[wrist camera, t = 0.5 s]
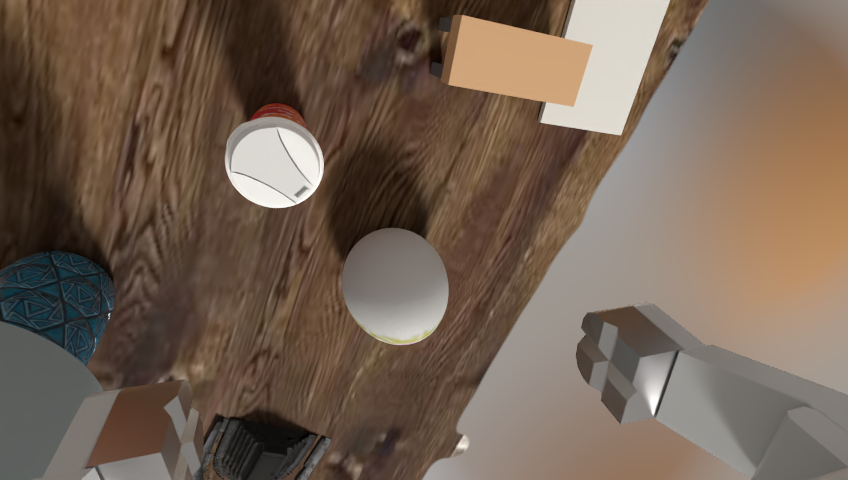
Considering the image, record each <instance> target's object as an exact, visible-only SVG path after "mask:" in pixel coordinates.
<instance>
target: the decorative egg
mask: <svg viewBox="0 0 848 480" xmlns="http://www.w3.org/2000/svg"><path fill="white" fill-rule="evenodd" d="M342 290H343V296H344V299H345V302H346V305H347V307H348V309H349V311H350V313H351V315H352V316H353V318H354V319H355V321H356V322H357V323H358V324H359V325H360V326H361V327H362V328H363V329H364V330H365V331H366V332H367V333H368V334H370V335H371V336H373V337H375V338H376V339H378V340H380V341H383V342H386V343H389V344H395V345H408V344H413V343H416V342H419V341H421V340H422V339H424V338H426V337H427V336H428V335H430V334H431V333H432V332H433V331H434V330H435V328H436V327H437V326H438V324H439V323H440V321H441V319H442V317H443V315H444V313H445V310H446V306H447V301H448V279H447V274H446V270H445V267H444V265H443V262H442V260H441V258H440V256H439V255H438V253H437V252H436V250H435V249H434V248H433V246H432V245H431V244H430V243H429V242H427V241H426V240H425V239H424V238H422V237H421V236H419V235H417V234H416V233H414V232H411V231H408V230H405V229H400V228H385V229H380V230H377V231H374V232H372V233H370V234H368V235H366V236H365V237H363V238H362V239H361V240H359V241H358V242H357V243H356V244H355V246H354V247H353V248H352V249H351V251H350V253H349V254H348V256H347V258H346V261H345V264H344V267H343V273H342Z"/></svg>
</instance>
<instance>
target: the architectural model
mask: <svg viewBox="0 0 848 480" xmlns="http://www.w3.org/2000/svg"><path fill="white" fill-rule="evenodd" d="M242 423H243V424H242ZM221 433H224V435H223V437H222V439H221V441H220V445H219V447H218V449H217V451H216V453H215V456H212V454H213V453H210V452H211V449H213V445H214V442H216V441H217V438H218V437H219V435H220V434H221ZM307 434H309V433H307V432H306V433H305V432H300V431H298V430H297V431H296V430H290V429H285V428H279V427H274V426H269V425H262V424H256V423H252V422H247V421H242V420H235V419H232V418H230V419H228V418H226V417H218V422H217V424H216V426H215V427H214V429H213V431H212V432H211V434H210V436H209V438H208V440H207V441H206V443H205V445H204V447H203V456H202V461H201V466H200V467H199V469H198V470H197V471H196V472H195V473H194V474H193V475H192V478H193V480H204V479H203V473H204V474H205V477H206V470H207V471H208V469H206V468H205V466H206V465H208V464H209V459H210V458H213V459H214V461H213V465H214V470H215V471H216V473H217V472H218V471H219V472H220V473H221V474H222V475H223V476H225V477H227V478H228V479H231V480H280V479H281V478H282V479H283V478H284V477H286V476H287V475H289V474H290V473H292V470H294V468H295V467H297V466H298V465H299V463H300V462H301V460H302V459H303V458H304V456H305V455H306V453H307V452H308V450H309V449H310V447H311V446H312V444H313V443H314V441H315V440H316V438H317V435H309V436H308V437H306V438H305V439H302V441H299V440H300V439H301V438H302V437H303V436H305V435H307ZM288 438H292V439H291V440H290V441H289V440H288ZM330 440H331V438H327V437H326V436H324V437H322V438H321V439H320V441H319V442H318V443H317V445H316V447H315V448H314V450H313V451H312V453H311V454H310V456H309V457H308V459H307V460H306V462H305V463H304V467H303V469H302V470H301V471H300V472H299V473H298V475H297V476H296V477H295V478H294V479H296V480H307V478H308V476H309V475H310V473H311V472H312V470H313V469H314V467H315V465H316V464H317V462H318V461H319V459H320V458H321V457H322V455H323V454H324V452H325V450H326V449H327V447H328V446H329V444H330ZM217 467H218V468H217ZM217 469H218V470H217ZM220 473H217V475H218V476H219V477H220V478H221V476H220V475H219V474H220ZM208 479H210V477H209V478H208ZM222 479H224V478H222Z"/></svg>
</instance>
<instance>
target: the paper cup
mask: <svg viewBox="0 0 848 480" xmlns="http://www.w3.org/2000/svg"><path fill="white" fill-rule="evenodd" d="M225 165H226V171H227V174H228V176H229V179H230V180H231V182H232V184H233V185H234V187H235V188H236V189H237V190H238V191H239V192H240V193H241V194H242V195H243V196H244V197H246V198H247V199H248V200H250V201H252V202H254V203H256V204H259V205H262V206H265V207H270V208H284V207H289V206H293V205H296V204H298V203H300V202H302V201H304V200H305V199H307V198H308V197H309V196H310V195H311V194H312V193H313V192H314V191H315V190H316V188H317V187H318V185H319V183H320V181H321V179H322V175H323V168H324V163H323V156H322V152H321V149H320V147H319V144H318V143H317V141H316V140H315V138H314V137H313V136H312V135H311V133H310V132H309V130H308V128H307V126H306V124H305V122H304V120H303V118H302V117H301V115H300V114H299V113H298V112H297V111H296V110H295V109H293V108H292V107H290V106H288V105H285V104H281V103H272V104H268V105H265V106H263V107H262V108H260V109H259V110H258V111H257V112H256V113H255V114H254V115H253V116H252V118H251V119H250V120H249V121H248V122H246V123H242V124H241V125H240V126H238V127H237V128H236V129H235V130H234V131H233V133H232V134H231V135H230V137H229V139H228V140H227V148H226V154H225Z"/></svg>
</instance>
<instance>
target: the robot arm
mask: <svg viewBox="0 0 848 480" xmlns="http://www.w3.org/2000/svg"><path fill="white" fill-rule="evenodd" d="M581 328H582V330H583V331H584V333H585V334H586V335H585V336H584V337H583V338H582V339H581V341H580V342H579V343H578V346H577V352H576V359H577V364H578V368H579V370H580V372H581V375H582V376H583V378H584V379H585V381H586V382H587V383H588V384H589V385H590V386H592V387H593V388H596V389H597V390H599V391H601V401H602V402H603V403H604V404H605V406H606V407H607V408H608V410H609V411H610V412H611V413H612V414H613V416H614V417H615V418H616V420H617V421H618V422H619V423H620V424H625V423H630V422H635V421H640V420H645V419H650V418H655V417H656V420H657V421H659V422H661V423H662V424H664V425H665V426H667V427H669V428H670V429H672V430H673V431H675V432H677V433H678V434H680V435H681V436H683V437H685V438H686V439H688V440H689V441H691V442H693V443H695V444H696V445H698V446H699V447H701V448H702V449H704V450H706V451H707V452H709V453H710V454H712V455H714V456H715V457H717V458H718V459H720V460H722V461H723V462H725V463H727V464H728V465H730V466H731V467H733V468H735V469H736V470H738V471H739V472H741V473H743V474H744V475H746V476H747V477H749V478H751V480H848V395H847V394H844V393H842V392H839V391H836V390H834V389H831V388H828V387H825V386H822V385H820V384H817V383H815V382H812V381H809V380H806V379H803V378H801V377H798V376H796V375H793V374H790V373H788V372H785V371H782V370H779V369H777V368H774V367H771V366H769V365H766V364H763V363H760V362H758V361H755V360H752V359H750V358H747V357H744V356H741V355H739V354H736V353H733V352H730V351H728V350H725V349H723V348H720V347H717V346H714V345H707V346H706V345H705V344H703V343H702V342H701V341H699V340H698V339H697V338H696V337H694V336H693V335H692V334H691V333H689V332H688V331H687V330H686V329H684V328H683V327H682V326H681V325H680V324H678V323H677V322H676V321H675V320H673V319H672V318H671V317H670V316H668V315H667V314H666V313H665V312H663V311H662V310H661V309H660V308H658V307H657V306H656V305H655V304H652V303H649V302H644V303H638V304H633V305H628V306H625V307H618V308H613V309H607V310H601V311H595V312H589V313H587V314H586V316H585V317H584V319H583V322H582V327H581ZM193 396H194V395H193V392H192V389H191V386H190V383H189V382H188V381H187V380H178V381H171V382H164V383H157V384H150V385H143V386H136V387H129V388H124V389H119V390H112V391H105V392H98V393H92V394H90V395H89V396H88V397H86V398H85V399H84V400H83V402H82V404H81V406H80V408H79V409H78V411H77V413H76V415H75V417H74V419H73V421H72V423H71V424H70V426H69V428H68V430H67V432H66V434H65V436H64V438H63V439H62V441H61V443H60V445H59V447H58V449H57V451H56V453H55V454H54V456H53V458H52V460H51V462H50V464H49V466H48V468H47V470H46V471H45V473H44V475H43V477H42V478H38V479H33V480H193V478H192V475H193V474H194V473H195V472H196V471H197V470H198V469H199V467H200V466H201V461H202V456H203V440H204V434H203V427H202V421H201V418H200V414H199V413H198V412H197V411H195V410H194V409H192V408H191V404H192V400H193Z"/></svg>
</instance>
